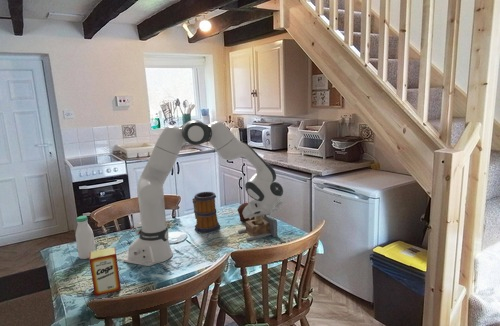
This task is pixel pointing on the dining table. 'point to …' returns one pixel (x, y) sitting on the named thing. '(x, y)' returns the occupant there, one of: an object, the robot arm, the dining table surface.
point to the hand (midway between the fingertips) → (257, 216)
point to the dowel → (258, 220)
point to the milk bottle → (84, 238)
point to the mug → (205, 213)
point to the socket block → (257, 227)
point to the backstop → (272, 232)
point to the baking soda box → (104, 271)
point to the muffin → (240, 210)
